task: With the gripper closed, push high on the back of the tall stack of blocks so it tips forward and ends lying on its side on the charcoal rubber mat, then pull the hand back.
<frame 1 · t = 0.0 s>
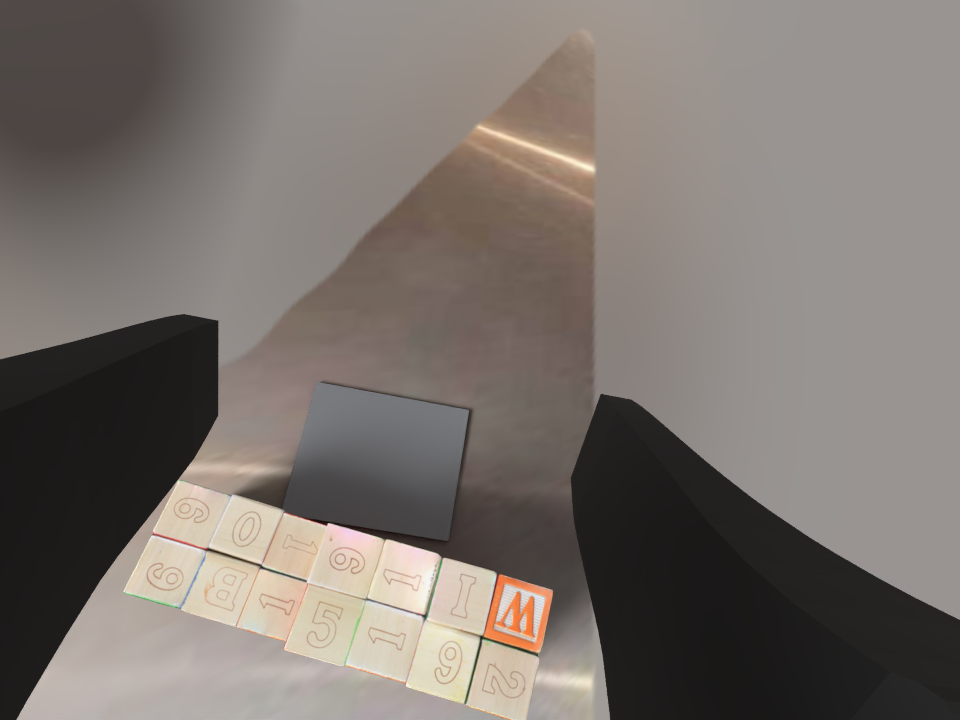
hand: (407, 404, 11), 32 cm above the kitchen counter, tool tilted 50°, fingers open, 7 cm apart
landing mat: (380, 459, 42), on the kitchen counter
stack of blocks: (351, 589, 39), on the kitchen counter
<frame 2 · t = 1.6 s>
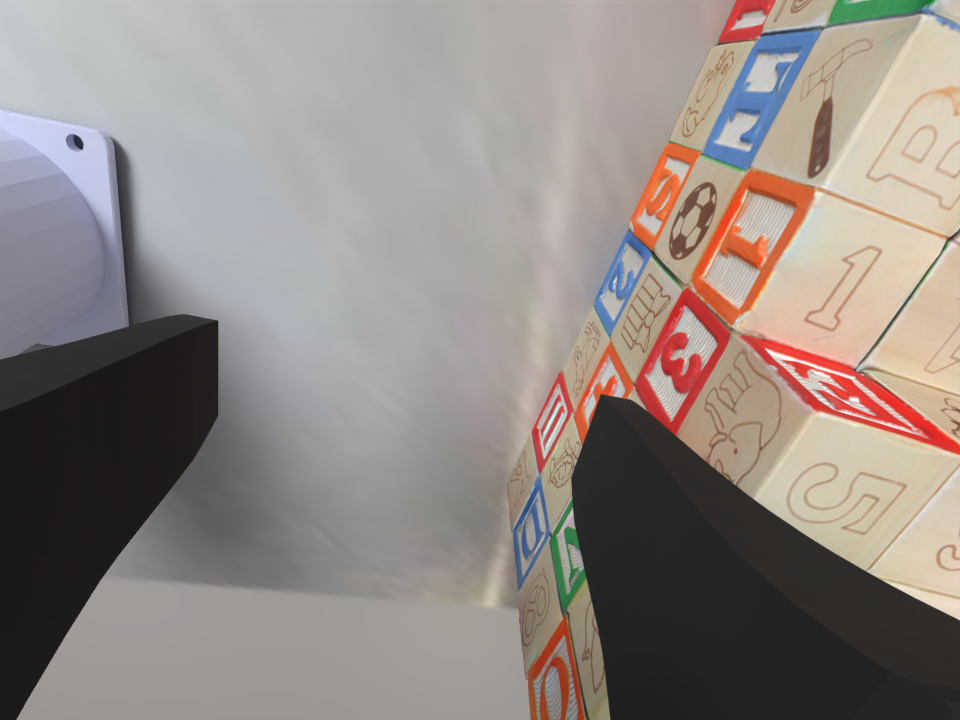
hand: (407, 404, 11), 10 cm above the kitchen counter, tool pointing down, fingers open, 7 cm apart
stack of blocks: (678, 289, 21), on the kitchen counter
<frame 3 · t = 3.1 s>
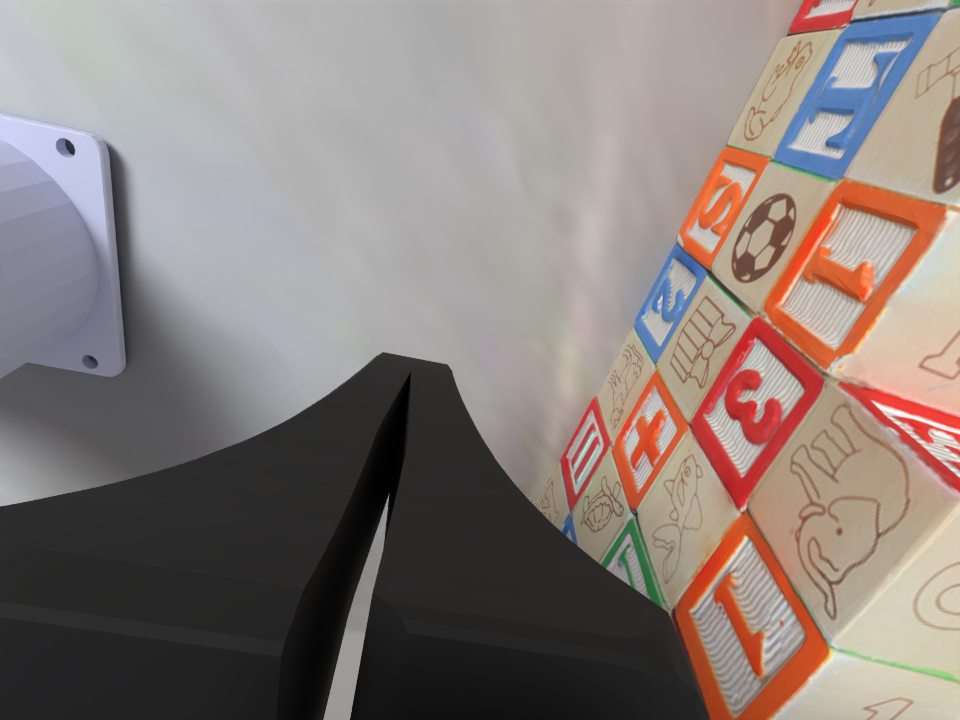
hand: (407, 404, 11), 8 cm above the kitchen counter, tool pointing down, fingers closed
stack of blocks: (729, 309, 19), on the kitchen counter
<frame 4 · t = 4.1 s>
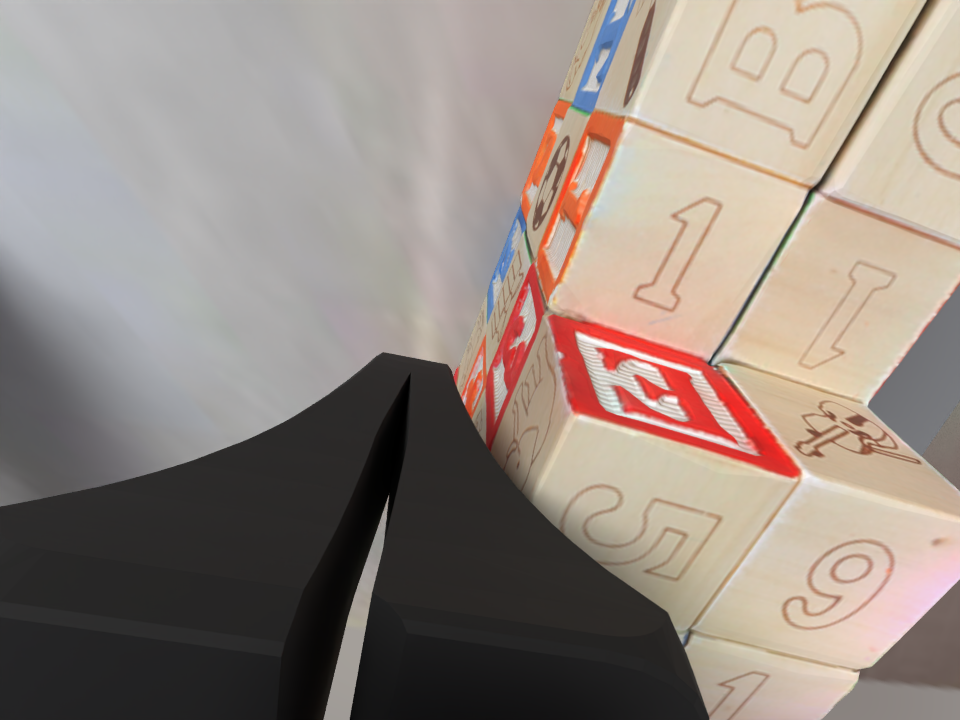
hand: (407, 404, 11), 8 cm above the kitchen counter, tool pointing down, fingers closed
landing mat: (832, 350, 19), on the kitchen counter
stack of blocks: (586, 274, 19), on the kitchen counter, touching gripper
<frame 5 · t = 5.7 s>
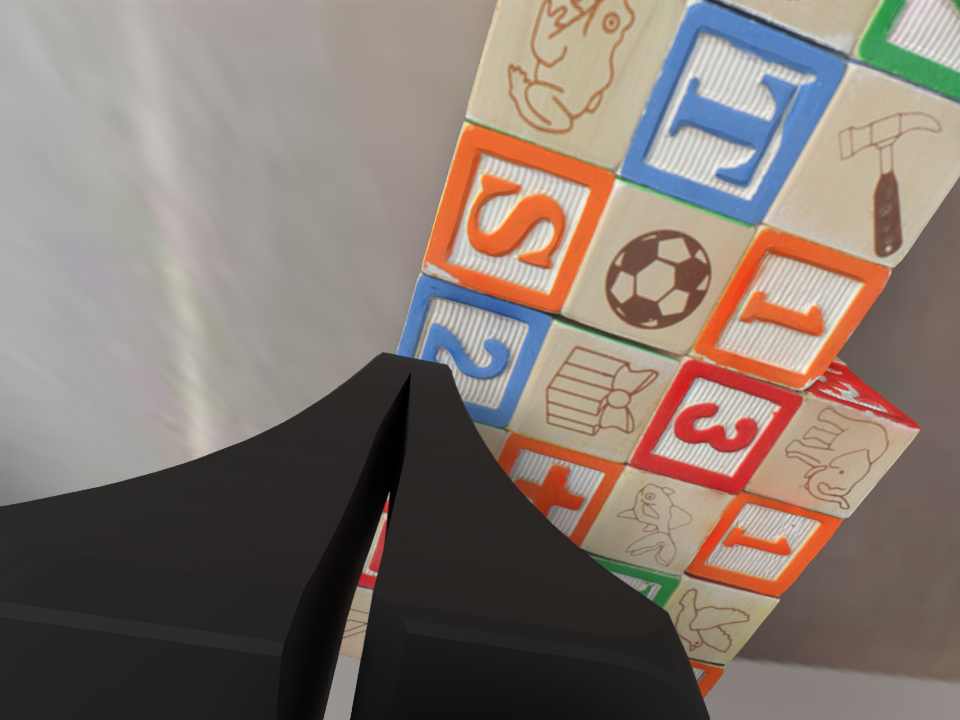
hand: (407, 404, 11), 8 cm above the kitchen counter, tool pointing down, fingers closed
stack of blocks: (404, 288, 15), point 4 cm above the kitchen counter, touching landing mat
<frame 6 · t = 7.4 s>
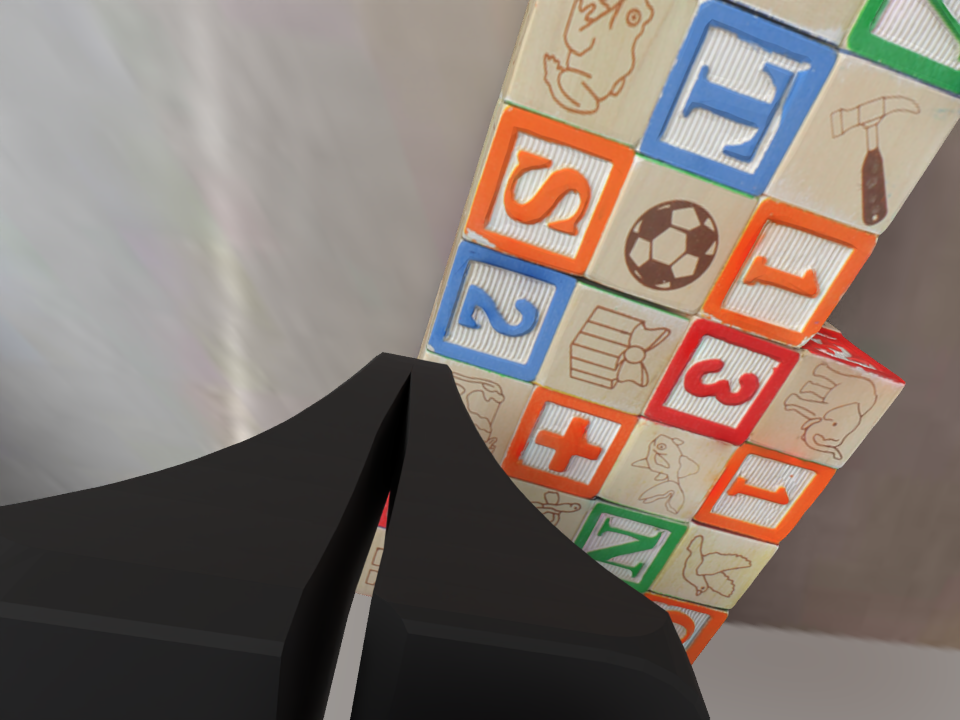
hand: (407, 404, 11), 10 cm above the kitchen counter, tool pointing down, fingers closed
stack of blocks: (439, 259, 16), point 4 cm above the kitchen counter, touching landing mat
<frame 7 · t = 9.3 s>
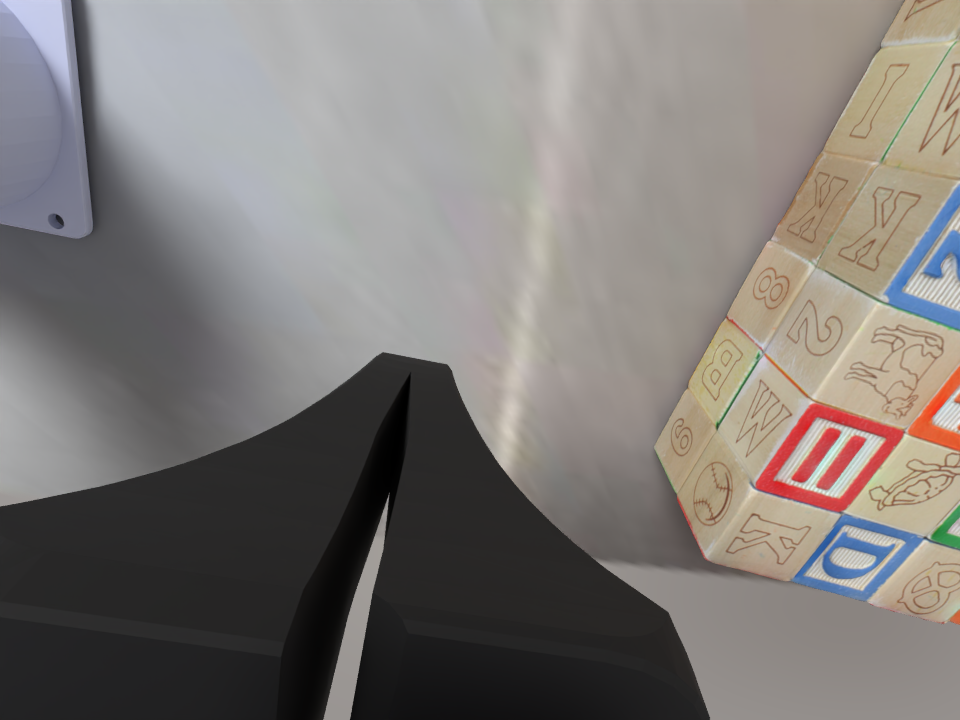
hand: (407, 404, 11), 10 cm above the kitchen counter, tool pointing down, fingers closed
stack of blocks: (836, 213, 16), point 4 cm above the kitchen counter, touching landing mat
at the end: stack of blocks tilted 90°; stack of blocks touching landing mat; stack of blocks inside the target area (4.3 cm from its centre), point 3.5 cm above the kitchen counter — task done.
